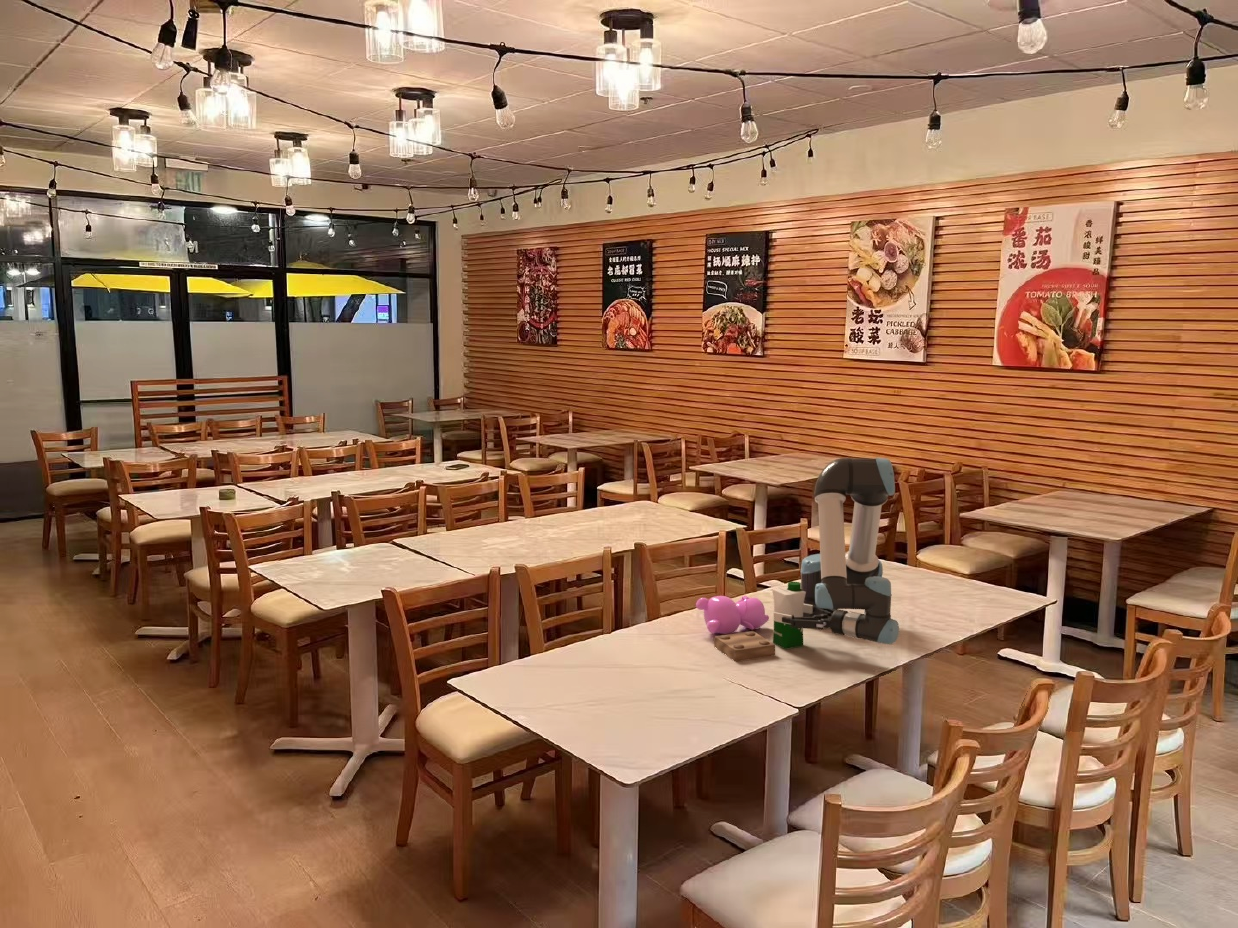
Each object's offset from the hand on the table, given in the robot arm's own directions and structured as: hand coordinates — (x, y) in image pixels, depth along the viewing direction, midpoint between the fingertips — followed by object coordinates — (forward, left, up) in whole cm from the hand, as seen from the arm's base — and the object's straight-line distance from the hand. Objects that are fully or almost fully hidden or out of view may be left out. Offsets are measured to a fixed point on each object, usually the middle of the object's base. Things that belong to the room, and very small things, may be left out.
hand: (784, 611), depth 290 cm
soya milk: (+1, +1, -11) cm, 11 cm away
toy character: (-18, -9, -11) cm, 23 cm away
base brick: (+1, -15, -11) cm, 19 cm away
